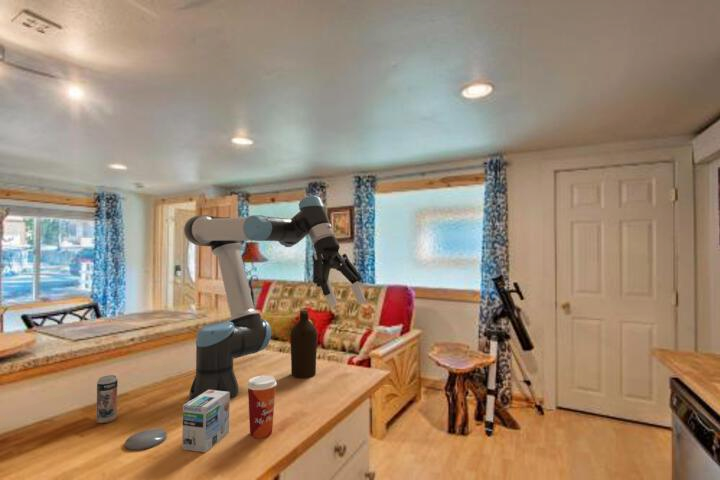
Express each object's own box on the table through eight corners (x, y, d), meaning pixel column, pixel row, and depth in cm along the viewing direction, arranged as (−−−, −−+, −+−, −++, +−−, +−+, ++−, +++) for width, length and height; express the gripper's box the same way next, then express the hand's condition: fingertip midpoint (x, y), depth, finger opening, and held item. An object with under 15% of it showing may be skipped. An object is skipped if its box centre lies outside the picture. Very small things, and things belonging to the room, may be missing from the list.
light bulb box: (205, 453, 86) (206, 407, 87) (180, 450, 88) (181, 405, 88) (230, 431, 97) (231, 390, 97) (207, 429, 98) (208, 388, 98)
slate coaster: (116, 449, 88) (116, 445, 88) (142, 431, 97) (142, 427, 97) (150, 451, 87) (150, 448, 87) (174, 433, 96) (174, 429, 96)
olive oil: (322, 375, 141) (322, 310, 142) (297, 380, 135) (298, 313, 136) (308, 368, 150) (309, 307, 151) (285, 373, 144) (285, 309, 144)
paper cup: (260, 443, 91) (261, 386, 91) (239, 435, 95) (240, 381, 95) (282, 430, 97) (283, 377, 98) (262, 423, 101) (263, 372, 102)
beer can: (94, 425, 100) (95, 381, 100) (97, 418, 104) (98, 376, 104) (115, 422, 102) (116, 378, 102) (117, 415, 106) (118, 373, 107)
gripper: (303, 230, 101) (329, 300, 94) (356, 238, 121) (381, 296, 114) (287, 244, 105) (310, 312, 98) (341, 249, 125) (363, 306, 118)
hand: (348, 304), depth 106 cm, fingers open, 13 cm apart
